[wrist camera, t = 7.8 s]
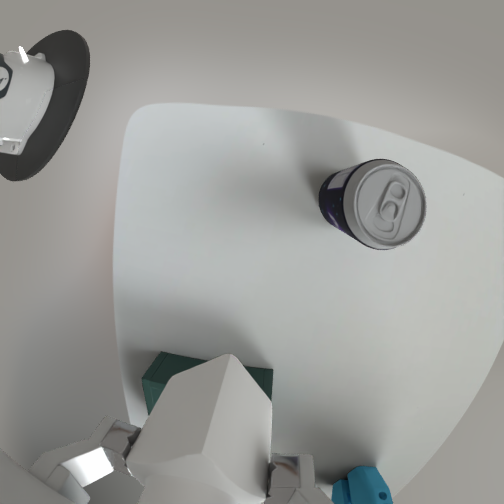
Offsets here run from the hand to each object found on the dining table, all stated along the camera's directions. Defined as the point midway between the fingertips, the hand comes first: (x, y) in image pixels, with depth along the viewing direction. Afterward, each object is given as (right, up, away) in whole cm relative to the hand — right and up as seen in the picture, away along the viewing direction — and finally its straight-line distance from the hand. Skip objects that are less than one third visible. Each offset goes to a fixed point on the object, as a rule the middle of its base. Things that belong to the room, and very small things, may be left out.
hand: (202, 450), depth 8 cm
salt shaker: (0, +1, +4) cm, 4 cm away
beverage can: (+11, +13, +18) cm, 24 cm away
